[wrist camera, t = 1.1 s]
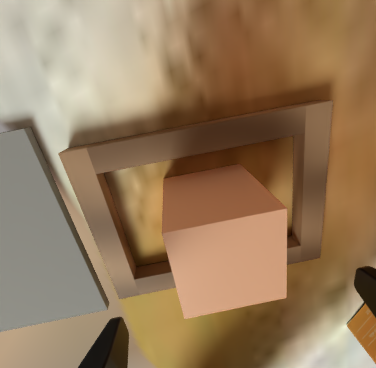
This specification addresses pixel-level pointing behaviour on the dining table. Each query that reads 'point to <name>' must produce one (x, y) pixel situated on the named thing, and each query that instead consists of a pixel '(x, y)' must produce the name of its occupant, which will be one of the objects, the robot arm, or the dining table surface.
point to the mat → (39, 243)
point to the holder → (192, 145)
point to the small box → (365, 330)
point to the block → (224, 240)
